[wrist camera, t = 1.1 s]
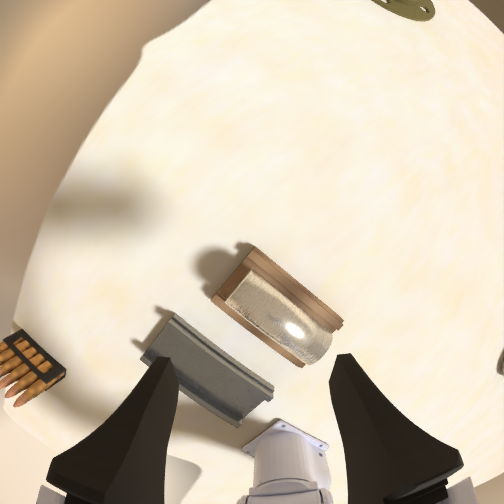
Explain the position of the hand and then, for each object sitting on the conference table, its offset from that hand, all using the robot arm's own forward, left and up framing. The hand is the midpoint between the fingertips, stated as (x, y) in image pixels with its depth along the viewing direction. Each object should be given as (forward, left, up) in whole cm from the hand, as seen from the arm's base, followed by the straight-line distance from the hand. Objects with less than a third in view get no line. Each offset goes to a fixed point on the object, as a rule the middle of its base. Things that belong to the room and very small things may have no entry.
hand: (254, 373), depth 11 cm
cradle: (-2, +12, -17) cm, 21 cm away
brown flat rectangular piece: (-3, +1, -17) cm, 17 cm away
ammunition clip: (+18, +31, -17) cm, 39 cm away
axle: (-3, +1, -16) cm, 16 cm away
